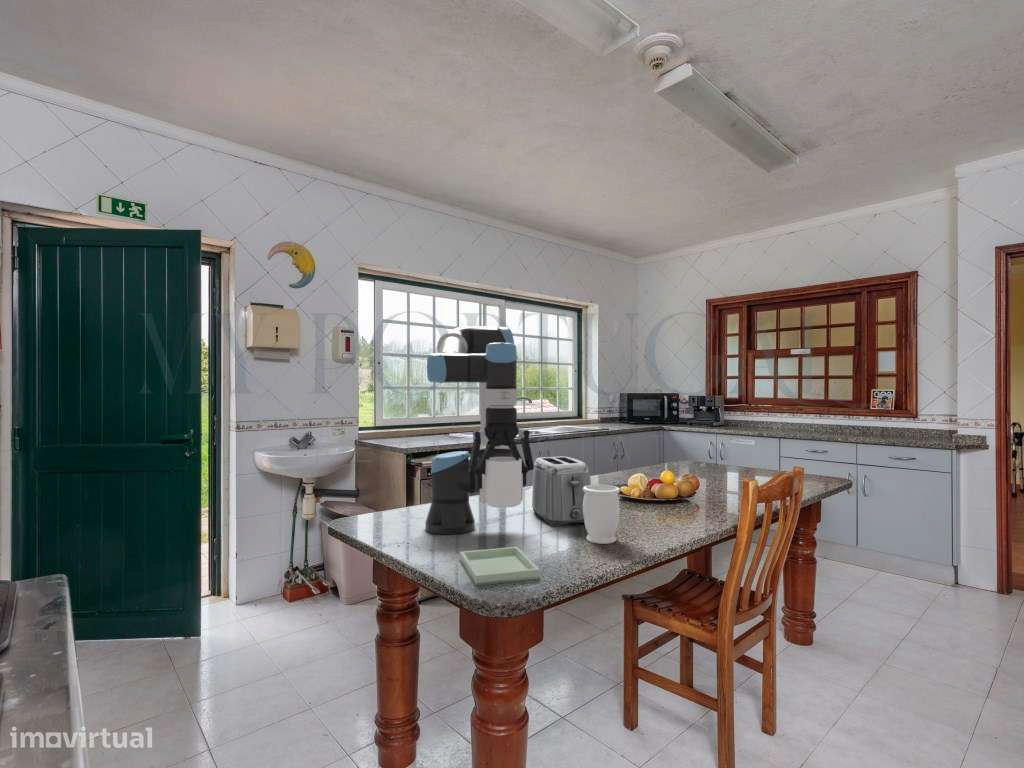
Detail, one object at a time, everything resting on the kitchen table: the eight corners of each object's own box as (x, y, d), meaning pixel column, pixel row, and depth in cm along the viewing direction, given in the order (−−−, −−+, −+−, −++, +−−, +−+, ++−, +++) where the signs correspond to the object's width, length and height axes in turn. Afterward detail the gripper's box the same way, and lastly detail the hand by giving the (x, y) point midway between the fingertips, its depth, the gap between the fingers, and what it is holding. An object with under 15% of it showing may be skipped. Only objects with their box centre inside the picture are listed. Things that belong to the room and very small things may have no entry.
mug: (506, 496, 138) (506, 454, 138) (527, 506, 127) (527, 460, 127) (474, 499, 134) (474, 456, 134) (493, 509, 123) (494, 462, 123)
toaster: (549, 529, 166) (549, 467, 166) (524, 508, 194) (524, 455, 194) (600, 526, 170) (600, 465, 170) (569, 505, 198) (569, 453, 198)
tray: (460, 560, 137) (460, 551, 137) (516, 555, 141) (516, 546, 141) (475, 585, 120) (475, 576, 120) (540, 578, 124) (540, 569, 124)
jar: (625, 544, 150) (625, 490, 150) (589, 546, 148) (589, 491, 148) (612, 534, 161) (612, 483, 161) (578, 535, 159) (578, 484, 159)
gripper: (461, 408, 124) (461, 507, 124) (548, 407, 131) (548, 501, 131) (454, 407, 131) (454, 500, 131) (537, 405, 138) (537, 494, 138)
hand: (501, 500), depth 131 cm, fingers closed on mug, 9 cm apart
